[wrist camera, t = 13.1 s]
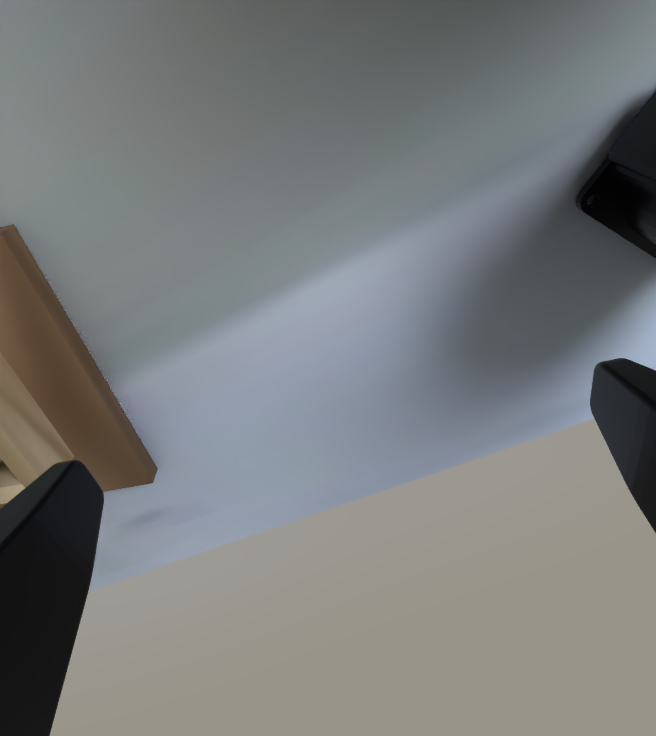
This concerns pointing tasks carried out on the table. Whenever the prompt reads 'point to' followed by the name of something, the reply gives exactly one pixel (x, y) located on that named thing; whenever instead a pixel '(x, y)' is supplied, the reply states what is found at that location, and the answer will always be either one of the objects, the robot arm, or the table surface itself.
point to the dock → (54, 389)
